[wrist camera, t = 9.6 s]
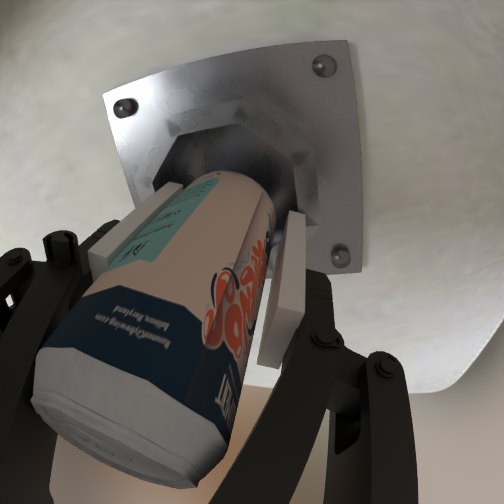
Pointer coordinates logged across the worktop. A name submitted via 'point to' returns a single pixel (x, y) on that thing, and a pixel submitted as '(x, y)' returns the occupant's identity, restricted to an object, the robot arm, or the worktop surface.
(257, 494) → the robot arm
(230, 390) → the beer can
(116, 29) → the worktop surface
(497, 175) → the worktop surface
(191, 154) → the duct flange
